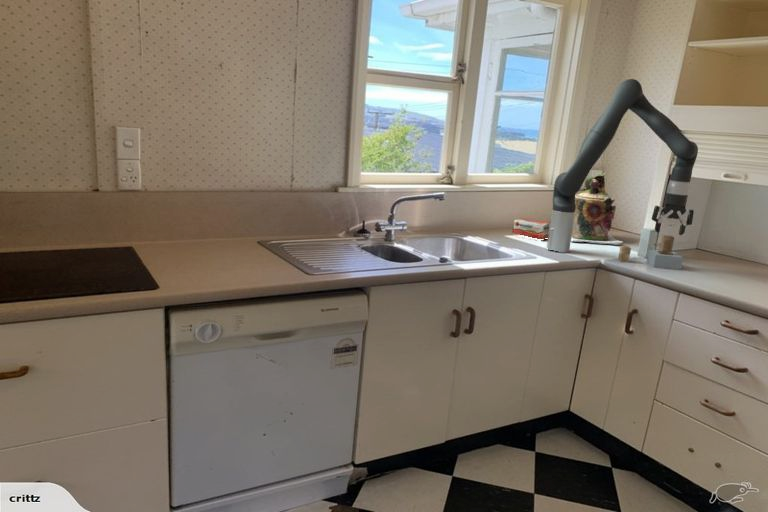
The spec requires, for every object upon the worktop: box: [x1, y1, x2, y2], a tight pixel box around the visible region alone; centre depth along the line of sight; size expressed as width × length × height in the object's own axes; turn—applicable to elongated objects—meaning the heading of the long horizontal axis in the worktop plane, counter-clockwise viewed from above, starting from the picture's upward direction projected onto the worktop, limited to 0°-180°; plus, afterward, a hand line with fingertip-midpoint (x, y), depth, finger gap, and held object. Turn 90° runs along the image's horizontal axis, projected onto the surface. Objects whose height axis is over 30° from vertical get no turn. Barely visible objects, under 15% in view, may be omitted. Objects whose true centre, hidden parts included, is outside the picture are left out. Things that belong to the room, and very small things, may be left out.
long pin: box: [659, 234, 675, 255], centre depth 219 cm, size 3×3×12 cm
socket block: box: [646, 249, 684, 271], centre depth 220 cm, size 10×10×5 cm
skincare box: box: [637, 227, 658, 259], centre depth 233 cm, size 6×4×12 cm
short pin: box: [617, 244, 632, 263], centre depth 223 cm, size 3×3×6 cm
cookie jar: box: [571, 172, 623, 246], centre depth 261 cm, size 25×25×32 cm
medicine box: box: [511, 218, 551, 239], centre depth 259 cm, size 15×8×8 cm, turn 52°
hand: (668, 233), depth 217 cm, fingers open, 8 cm apart
